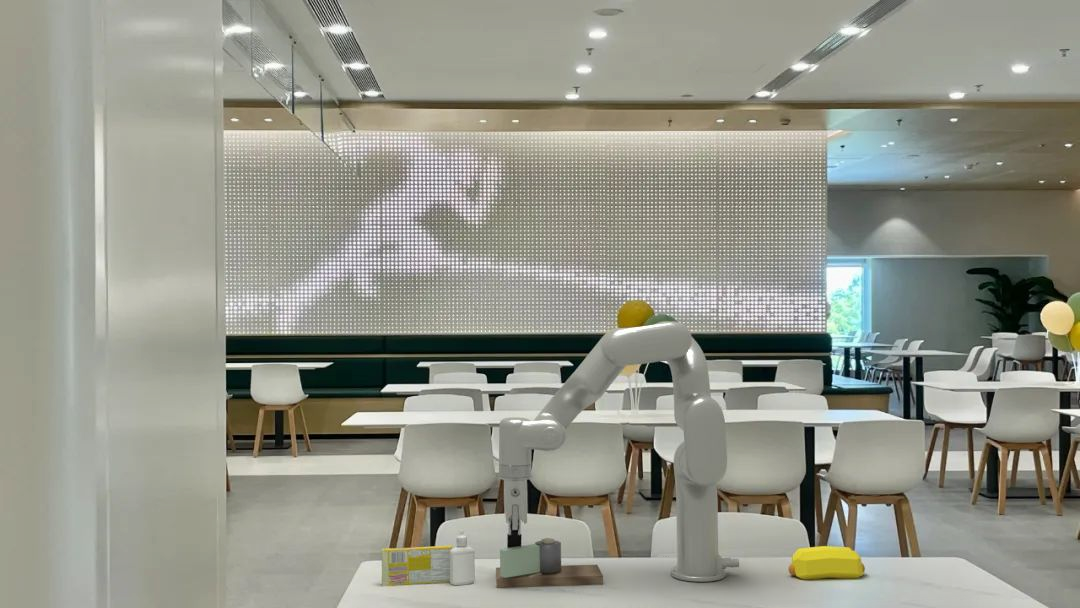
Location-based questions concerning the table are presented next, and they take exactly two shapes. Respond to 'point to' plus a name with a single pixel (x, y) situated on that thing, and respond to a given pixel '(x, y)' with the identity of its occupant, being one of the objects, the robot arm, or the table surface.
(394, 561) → the candy box
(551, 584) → the post base
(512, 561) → the grey and green piece
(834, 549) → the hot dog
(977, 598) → the table surface
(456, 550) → the eye dropper bottle
